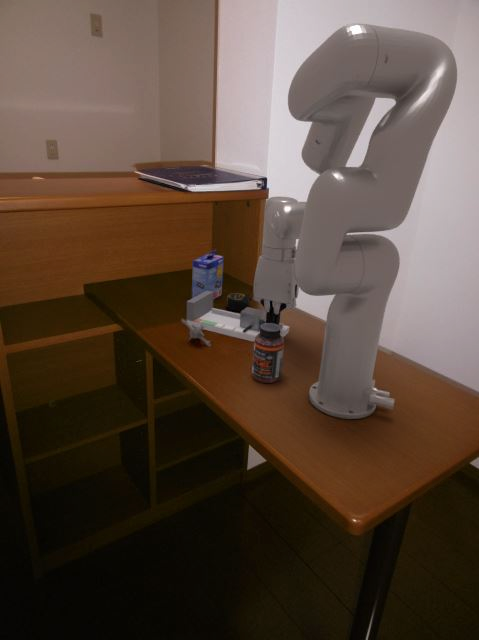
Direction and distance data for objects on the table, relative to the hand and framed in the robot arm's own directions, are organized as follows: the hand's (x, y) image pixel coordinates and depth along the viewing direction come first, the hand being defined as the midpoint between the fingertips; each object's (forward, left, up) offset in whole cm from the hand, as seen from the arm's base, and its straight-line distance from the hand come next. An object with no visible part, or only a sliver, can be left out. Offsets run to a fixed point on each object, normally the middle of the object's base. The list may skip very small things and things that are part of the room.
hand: (272, 326), depth 111 cm
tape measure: (+15, -13, -3) cm, 20 cm away
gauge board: (+9, 0, -3) cm, 10 cm away
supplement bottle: (-7, +19, -3) cm, 21 cm away
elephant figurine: (+15, +12, -3) cm, 19 cm away
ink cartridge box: (+27, -16, -3) cm, 32 cm away
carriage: (+5, +2, -1) cm, 6 cm away
